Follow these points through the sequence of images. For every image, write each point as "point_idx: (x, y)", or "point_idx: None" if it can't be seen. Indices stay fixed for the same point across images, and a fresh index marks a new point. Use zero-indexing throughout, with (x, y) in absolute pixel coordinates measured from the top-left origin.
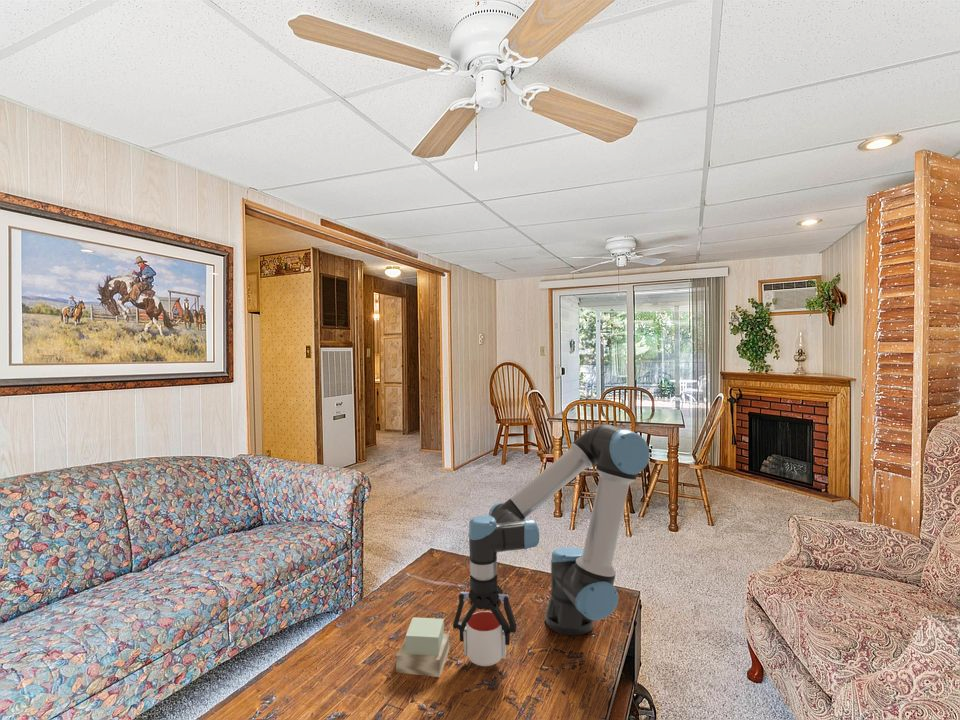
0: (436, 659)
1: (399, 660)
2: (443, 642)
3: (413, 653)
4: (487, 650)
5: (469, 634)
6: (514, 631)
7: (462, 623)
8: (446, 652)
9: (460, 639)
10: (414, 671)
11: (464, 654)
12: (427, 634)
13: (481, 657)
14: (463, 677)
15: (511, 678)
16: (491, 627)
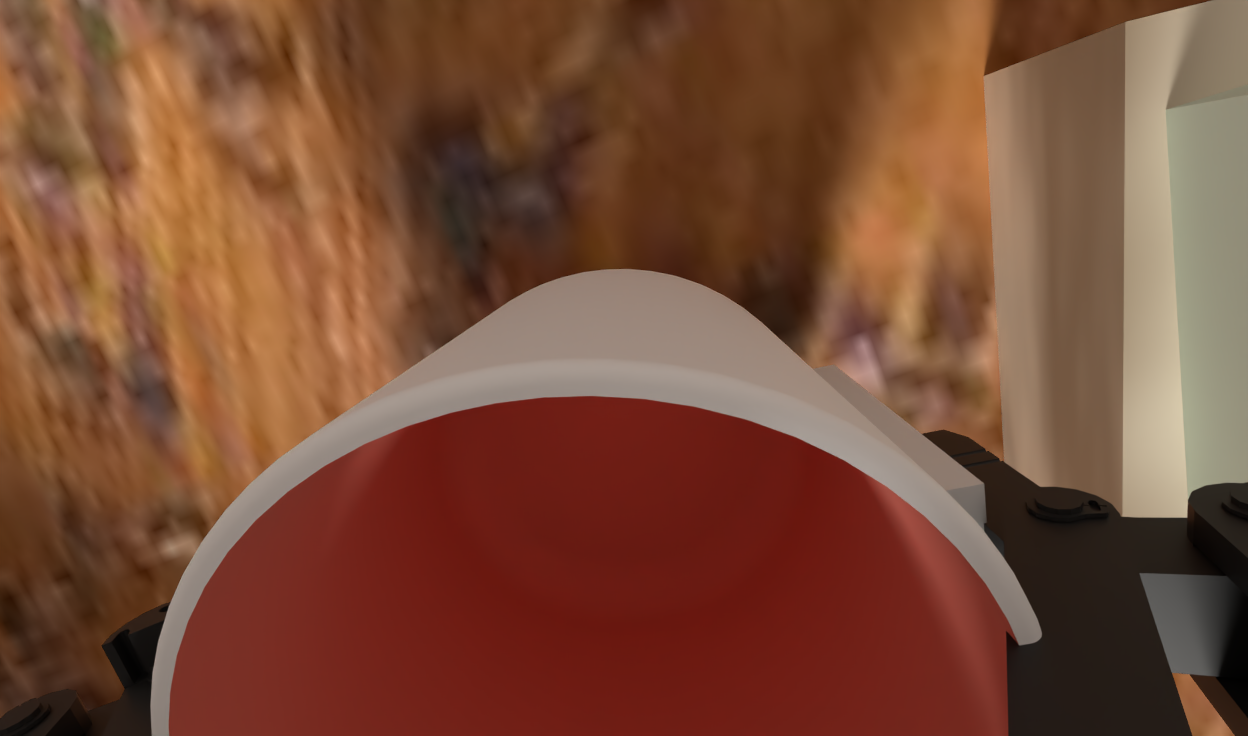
0: (1177, 16)
1: None
2: (1162, 403)
3: None
4: (477, 324)
5: (829, 388)
6: (18, 713)
7: (1134, 594)
8: (1034, 384)
9: (961, 440)
10: None
11: (829, 368)
12: None
13: (574, 280)
14: (747, 171)
15: (346, 326)
16: None
